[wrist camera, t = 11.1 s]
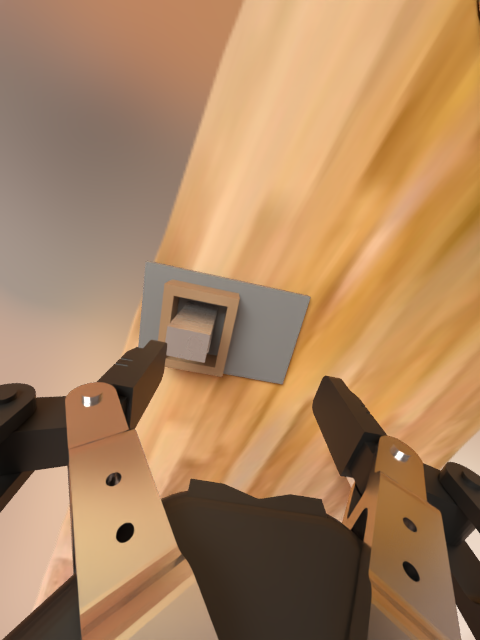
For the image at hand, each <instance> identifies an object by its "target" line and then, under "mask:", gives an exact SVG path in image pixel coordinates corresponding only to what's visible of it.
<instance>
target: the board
mask: <svg viewBox="0 0 480 640" xmlns="http://www.w3.org/2000/svg"><path fill="white" fill-rule="evenodd" d="M310 298H311V297H310V296H307V295H303V294H298V293H293V292H289V291H284V290H280V289H275V288H270V287H266V286H261V285H257V284H252V283H247V282H243V281H238V280H234V279H229V278H225V277H220V276H215V275H211V274H206V273H202V272H197V271H192V270H188V269H183V268H179V267H174V266H169V265H165V264H160V263H156V262H151V261H146V265H145V276H144V288H143V300H142V311H141V323H140V335H139V346H138V347H139V348H144V347H145V346H146V344H147V343H148V342H149V341H150V340H156V341H161V342H165V340H166V333H167V326H168V325H169V324H170V323H171V321H172V320H173V319H174V318H175V317H176V315H177V314H178V313H179V312H180V311H181V310H182V308H183V307H184V306H185V305H186V304H187V302H188V301H192V302H197V303H201V304H206V305H211V306H215V307H218V310H217V315H216V320H215V325H214V329H213V334H212V339H211V344H210V348H209V352H208V353H207V355H206V359H205V363H203V362H197V361H192V360H187V359H182V358H177V357H172V356H167V355H166V360H165V367H168V368H174V369H180V370H185V371H191V372H196V373H202V374H208V375H213V376H219V377H222V376H223V374H228V375H234V376H239V377H245V378H251V379H256V380H262V381H267V382H273V383H278V384H283V381H284V378H285V375H286V372H287V369H288V366H289V362H290V359H291V356H292V353H293V350H294V347H295V344H296V341H297V338H298V335H299V332H300V329H301V325H302V322H303V319H304V316H305V313H306V310H307V307H308V304H309V301H310Z"/></svg>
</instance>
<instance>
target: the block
mask: <svg viewBox="0 0 480 640" xmlns="http://www.w3.org/2000/svg"><path fill="white" fill-rule="evenodd" d="M217 310H218V307H215V306H211V305H206V304H201V303H197V302H192V301H188V302H187V304H186V305H185V306H184V307H183V308H182V310H181V311H180V312H179V313H178V314H177V315H176V317H175V318H174V319H173V320H172V321H171V323H170V324H169V325H168V326H167V333H166V340H165V342H166V343H167V353H166V355H167V356H172V357H177V358H182V359H187V360H192V361H197V362H203V363H205V359H206V355H207V353H208V352H209V348H210V344H211V339H212V334H213V329H214V325H215V320H216V315H217Z"/></svg>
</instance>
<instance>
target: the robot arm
mask: <svg viewBox="0 0 480 640" xmlns="http://www.w3.org/2000/svg"><path fill="white" fill-rule="evenodd" d="M479 11H480V0H479ZM166 353H167V343H166V342H161V341H156V340H150V341H149V342H148V343H147V344H146V346H145V347H144V348H139V347H136V348H134V349H132V350H130V351H127V352H126V353H125V354H124V355H123V356H122V357H121V359H119V360H118V361H117V362H116V364H114V365H113V366H112V367H111V368H110V369H109V370H108V371H107V372H106V373H105V374H104V375H103V376H102V377H101V378H100V379H99V380H98V381H97V382H94V383H87V384H84V385H81V386H78V387H76V388H74V389H73V390H72V391H70V392H69V393H68V395H67V396H63V397H40V398H36V391H35V389H34V388H33V387H32V386H30V385H27V384H21V383H12V384H4V385H0V512H1V511H2V510H3V509H4V507H5V506H6V505H7V504H8V502H9V501H10V500H11V499H12V498H13V496H14V495H15V494H16V493H17V491H18V490H19V489H20V488H21V486H22V485H23V484H24V483H25V482H26V480H27V479H28V478H29V477H30V475H31V474H32V473H33V472H34V471H35V470H40V469H47V468H54V467H61V466H68V481H69V482H68V483H69V500H70V518H71V538H72V558H73V575H72V576H71V577H70V578H69V579H68V580H67V581H66V582H65V583H64V584H63V585H62V586H60V587H59V588H58V589H57V590H56V591H55V592H54V593H53V594H52V595H51V596H49V597H48V598H47V599H46V600H45V601H44V602H43V603H42V604H41V605H40V606H39V607H37V608H36V609H35V610H34V611H33V612H32V613H31V614H30V615H29V616H28V617H27V618H25V619H24V620H23V621H22V622H21V623H20V624H19V625H18V626H17V627H16V628H14V629H13V630H12V631H11V632H10V633H9V634H8V635H7V636H6V637H5V638H4V639H3V640H461V636H460V628H459V622H458V616H457V610H456V605H457V607H458V609H459V611H460V612H461V614H462V616H463V618H464V619H465V621H466V623H467V625H468V627H469V628H470V630H471V632H472V634H473V635H474V637H475V639H476V640H480V561H479V560H478V558H477V557H476V556H475V554H474V553H473V551H472V550H471V549H470V547H469V546H468V544H467V543H466V542H465V539H466V538H467V537H468V536H469V535H470V534H471V533H472V532H473V531H474V530H475V528H476V529H477V530H478V532H479V533H480V476H479V475H477V474H476V473H474V472H473V471H471V470H470V469H468V468H466V467H464V466H462V465H460V464H457V463H454V462H448V463H447V464H446V465H445V466H444V467H443V469H442V470H441V471H440V470H438V469H435V468H433V467H431V466H428V465H426V464H424V463H423V462H422V460H421V458H420V457H419V456H418V454H417V453H416V452H415V451H414V450H413V449H412V448H410V447H409V446H408V445H407V444H405V443H404V442H402V441H400V440H398V439H396V438H394V437H391V436H387V434H386V433H385V432H384V430H383V429H382V428H381V427H380V425H379V424H378V423H377V421H376V420H375V419H374V417H373V416H372V415H371V414H370V412H369V411H368V409H367V408H365V405H364V404H363V403H362V401H361V400H360V399H359V398H358V397H357V396H356V395H355V394H354V393H352V392H351V391H350V390H349V389H348V387H347V386H346V385H345V383H344V382H343V381H342V379H340V378H335V377H330V376H324V377H323V379H322V381H321V383H320V386H319V388H318V390H317V393H316V395H315V398H314V400H313V405H312V408H313V413H314V416H315V418H316V420H317V423H318V425H319V427H320V430H321V432H322V434H323V437H324V439H325V441H326V444H327V446H328V448H329V451H330V453H331V455H332V458H333V460H334V462H335V464H336V467H337V469H338V471H339V474H340V476H344V477H350V478H353V479H354V481H355V482H354V484H353V485H352V487H351V491H350V494H349V498H348V502H347V506H346V510H345V514H344V518H343V522H342V523H341V522H339V521H338V520H337V519H335V518H333V517H332V516H330V515H328V514H326V512H325V509H324V506H323V503H322V499H316V498H310V497H304V496H297V495H291V494H290V495H284V496H277V497H270V498H264V499H257V498H254V497H252V496H250V495H248V494H245V493H243V492H241V491H239V490H237V489H234V488H232V487H230V486H228V485H225V484H221V483H215V482H209V481H202V480H196V479H191V480H190V484H189V489H188V491H184V492H179V493H176V494H172V495H169V496H167V497H165V498H162V499H160V496H159V493H158V490H157V487H156V485H155V482H154V479H153V476H152V473H151V471H150V468H149V465H148V462H147V459H146V457H145V454H144V451H143V448H142V445H141V443H140V440H139V437H138V434H137V432H136V430H135V428H136V426H137V424H138V422H139V420H140V419H141V417H142V415H143V413H144V411H145V409H146V408H147V406H148V404H149V402H150V400H151V399H152V397H153V395H154V393H155V391H156V390H157V388H158V386H159V384H160V382H161V380H162V377H163V373H164V367H165V360H166Z"/></svg>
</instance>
